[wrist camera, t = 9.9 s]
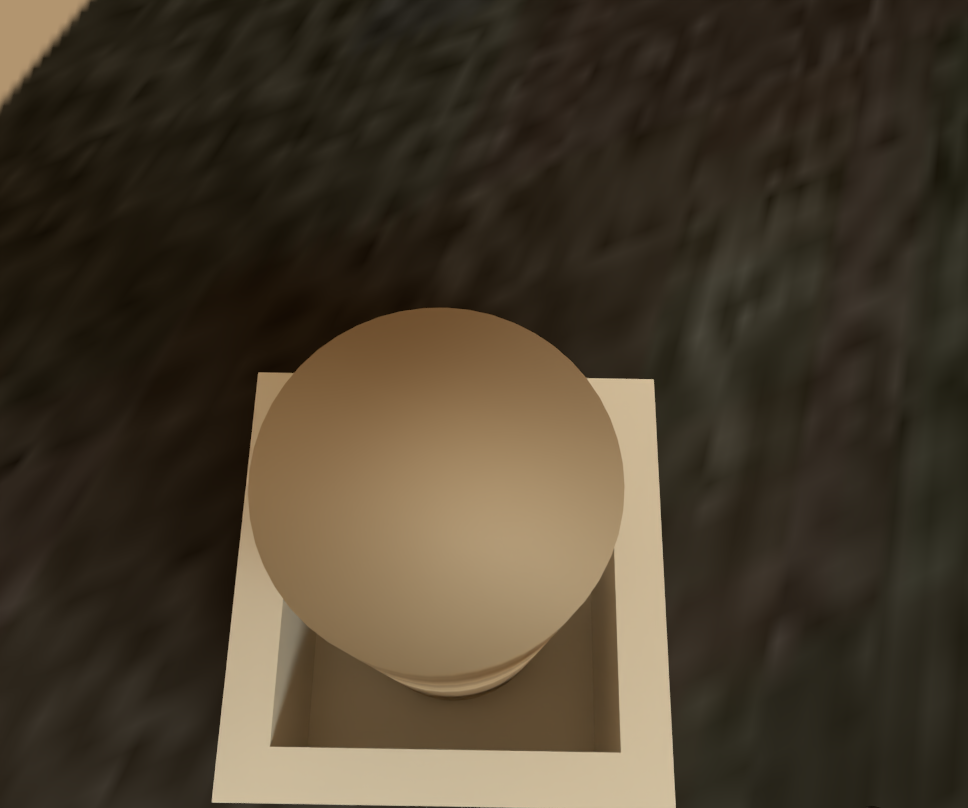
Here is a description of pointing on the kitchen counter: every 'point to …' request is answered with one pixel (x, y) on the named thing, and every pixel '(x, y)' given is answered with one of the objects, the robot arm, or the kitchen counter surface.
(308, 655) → the cream square tray
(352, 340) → the wick dowel
